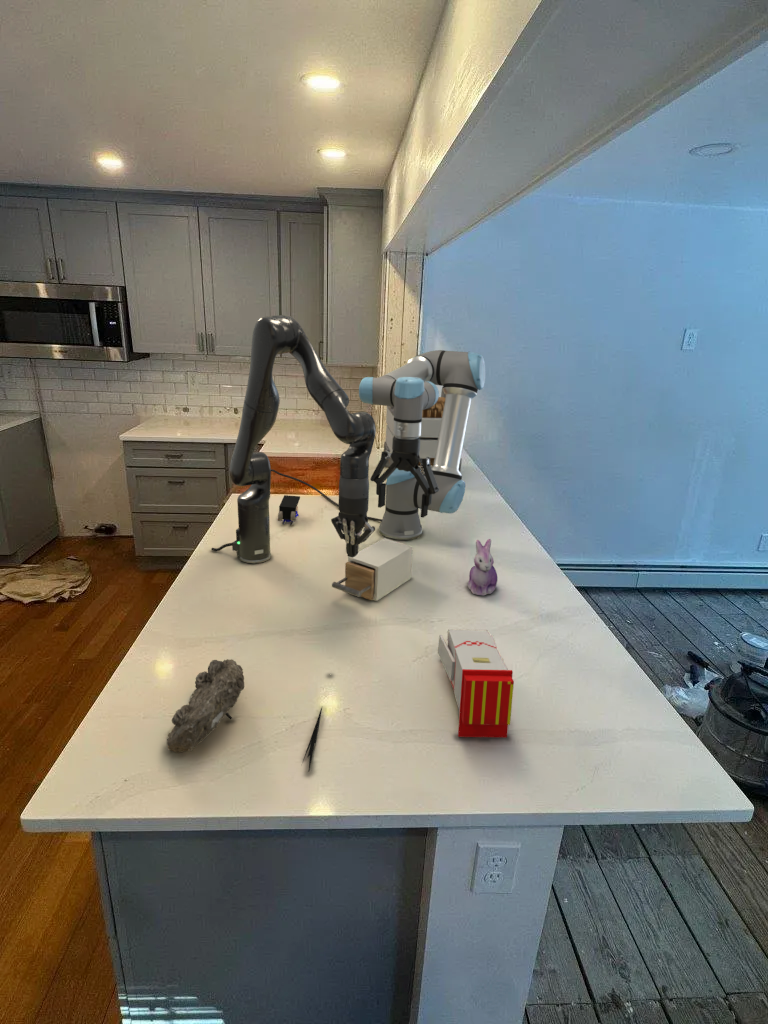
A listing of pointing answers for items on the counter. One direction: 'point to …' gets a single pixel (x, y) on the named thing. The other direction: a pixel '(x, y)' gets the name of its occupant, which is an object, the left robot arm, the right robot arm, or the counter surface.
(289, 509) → the figurine character
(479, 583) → the figurine
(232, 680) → the fossil
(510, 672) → the toy
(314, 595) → the counter surface
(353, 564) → the drawer
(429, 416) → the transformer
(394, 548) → the cabinet
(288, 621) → the counter surface
